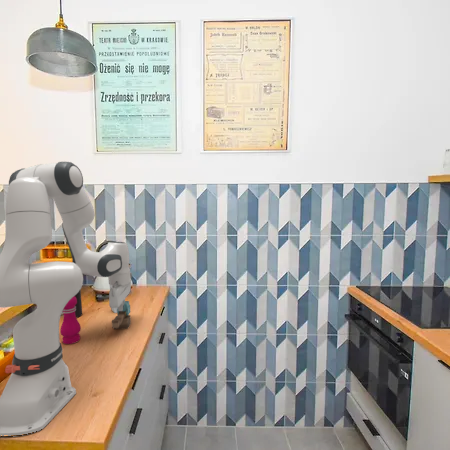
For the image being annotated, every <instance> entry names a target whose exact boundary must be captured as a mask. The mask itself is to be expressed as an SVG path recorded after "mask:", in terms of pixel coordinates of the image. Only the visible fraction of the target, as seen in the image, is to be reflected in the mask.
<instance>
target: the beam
mask: <svg viewBox="0 0 450 450" xmlns="http://www.w3.org/2000/svg"><path fill="white" fill-rule="evenodd" d="M131 324H132V317H131V314H129V315H127V316H126V311H120V313H119V314H118V315H115V318H114V319H112V320H111V328H112V329H113V330H129V328H130V326H131Z"/></svg>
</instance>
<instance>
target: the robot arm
mask: <svg viewBox="0 0 450 450" xmlns="http://www.w3.org/2000/svg"><path fill="white" fill-rule="evenodd" d="M83 177H84V176H83V174H82V171H81V169H80V168H79V167H78V166H77V165H76V164H74V163H73V162H71V161H58V162H53V163H52V162H51V163H40V164H37V165H33V166H29V167H27V168H26V167H24V168H21V169H17V170H15V171H14V172H12V173H11V175H10V176H9V180H8V188H7V193H6V198H5V201H6V202H5V239H4V245H3V247H2V251H1V252H0V308H4V309H5V308H12V307H18V306H25V305H26V306H27V305H31V304H33V305H36V307H37V308H36V309H35V310H34V311H32V312H30V313H29V314H26V315H25V316H23V317H22V318H21V319H20V320H18V321H17V323H16V324H15V325H14V327H13V330H12V337H13V348H14V353H13V359H12V362H11V364H7V365H6V367H5V369H4V370H5V371H4V373H6V374H10V373H11V374H10V376H9V378H8V380H7V382H6V385H5V387H4V389H3V391H2V393H1V395H0V436H1V435H2V436H4V435H8V436H11V435H22V434H27V435H29V434H28V433H31V434H33V433H32V432H34V433H36V431H37V432H39V431H42V430H43V429H45V427H46V426H47V425H48V424H49V423H50V422H51V421H52V420H53V419H54V418H55V417H56V416H57V415H58V413H60V411H61V410H63V408H64V407H65V406H66V405H67V404H68V403H69V402H70V401H71V399H73V398H74V397H75V395H77V391H76V388H75V387H74V386H72V383H71V378H70V377H71V376H70V371H69V366H68V365H67V364H66V363H65V361H64V359H63V351H64V350H63V346H62V342H60V322H61V321H60V320H61V315H62V314H63V313H62V311H63V309H64V307H65V305H66V304H67V303H68V302H69V300H70V299H71V298H72V297H74V296H75V295H76V294H77V293H78V292H79V290H80V289H82V286H83V284H84V276H91V277H100V278H108V279H107V280H108V285H109V284H110V285H112V288H111V289H110V288H109V290H108V291H109V294H108V298H109V299H108V303H109V305H108V306H109V307H110V309H111V308H118V311H123V309H124V303H125V301H126V298H127V297H128V296H129V294H130V293H131V289H132V288H131V287H132V286H131V285H132V283H131V282H132V276H133V274H132V272H131V269H130V253H129V247H128V244H127V242H124V241H117V240H113V241H111V240H110V241H109V242H108V243H107V245H106V246H105V248H103V249H102V250H100V251H99V252H98V251H93V250H91V249H89V248H88V246H87V244H86V240H85V238H84V235H83V230H84V229H86V228H87V227H89V226H90V225H92V223H93V221H94V220H95V215H96V214H95V209H94V206H93V203H92V202H91V199H90V198H89V196H88V193H87V192H86V190H85V188H84V187H83V185H84V178H83ZM50 200H53V201H54V204H55V207H56V209H57V211H58V213H59V215H60V217H61V220H62V226H61V227H62V231H63V235H64V238H65V240H66V243H67V246H68V249H69V251H70V253H71V255H70V256H71V261H72V262H70V261H47V262H37V263H29V260H30V258H31V256H32V255H34V254H35V253H37V252H38V251H41V250H43V249H44V248H47V246H48V245H49V244H50V243H51V242H52V239H53V227H52V226H53V225H52V212H51V204H50ZM110 285H109V286H110ZM41 429H42V430H41ZM22 436H23V435H22Z"/></svg>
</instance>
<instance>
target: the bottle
mask: <svg viewBox="0 0 450 450" xmlns="http://www.w3.org/2000/svg"><path fill="white" fill-rule="evenodd" d="M81 289H82V288H81ZM81 289H80V290H79V292H78V293H77V294H76V295H75V297H76V299H77V303H76V305H75V306H76V311H75V315H76V318H77V319H78V318H80V317H82V315H83V304H82V291H81Z"/></svg>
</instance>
